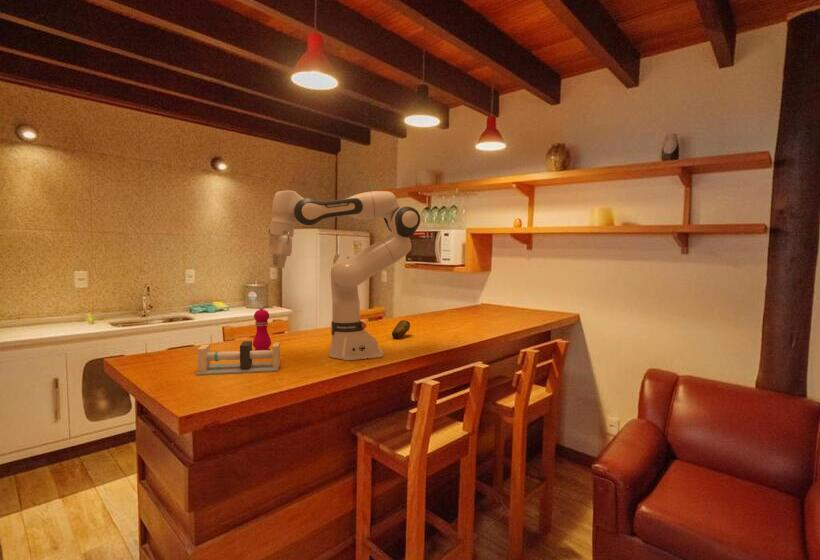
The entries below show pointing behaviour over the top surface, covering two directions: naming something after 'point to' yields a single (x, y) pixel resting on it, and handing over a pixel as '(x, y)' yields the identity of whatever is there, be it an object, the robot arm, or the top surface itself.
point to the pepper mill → (261, 330)
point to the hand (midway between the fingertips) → (278, 266)
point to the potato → (401, 329)
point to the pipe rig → (234, 368)
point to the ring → (245, 354)
